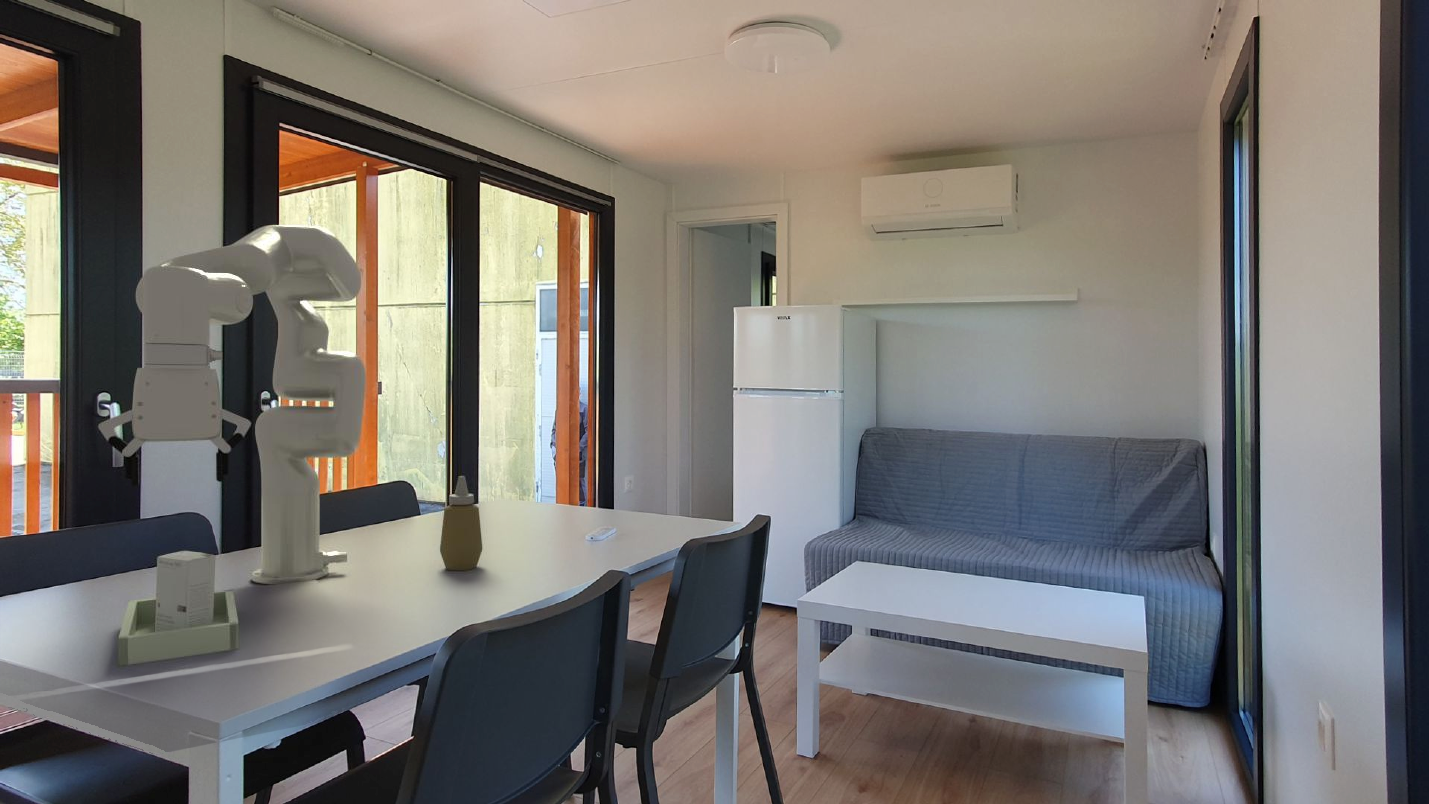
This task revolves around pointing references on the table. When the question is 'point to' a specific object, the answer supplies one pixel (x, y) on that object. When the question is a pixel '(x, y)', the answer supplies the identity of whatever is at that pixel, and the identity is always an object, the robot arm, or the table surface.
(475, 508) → the squeeze bottle
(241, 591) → the table surface
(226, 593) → the tote
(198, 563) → the skincare box
